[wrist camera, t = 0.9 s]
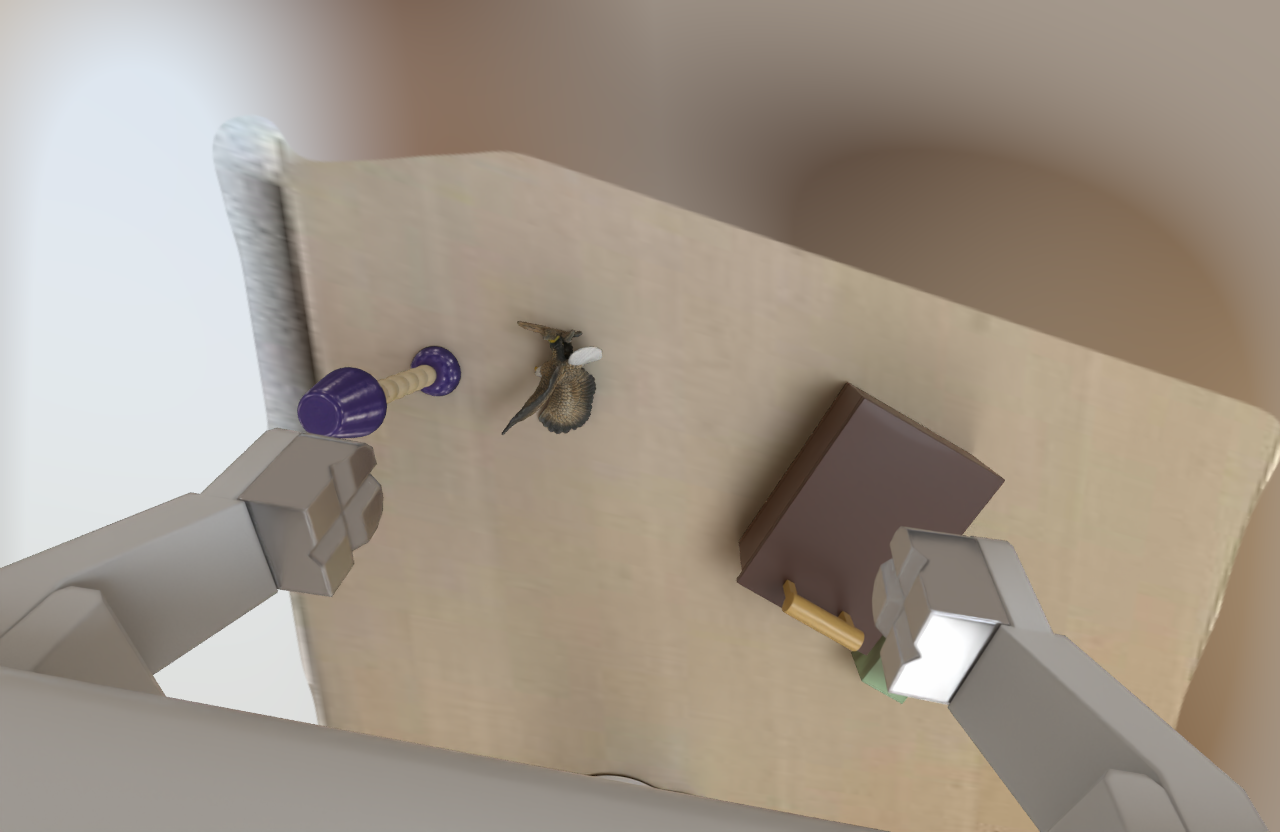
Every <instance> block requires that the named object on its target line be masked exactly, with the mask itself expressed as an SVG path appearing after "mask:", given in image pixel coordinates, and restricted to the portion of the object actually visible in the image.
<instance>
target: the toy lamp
mask: <svg viewBox="0 0 1280 832" xmlns="http://www.w3.org/2000/svg"><path fill="white" fill-rule="evenodd" d="M460 377H461V371H460V366H459V364H458V361H457V359H456V358H455V357H454V355H453V354H452V353H451V352H449V351H448V350H447V349H444V348H442V347H437V346H431V347H427V348H424V349H422V350H421V351H420V352H419V353H417V355H416V356H415V357H414V359H413V361H412V364H411V369H409V370H407V371H403V372H400V373H398V374H397V375H391V376H389V377H387V378H386V379H380V380H378V381H377V380H376V379H375V378H374V377H373V376H372V375H370V374H369V373H367V372H365V371H363V370H361V369H358V368H352V367H345V368H340V369H337V370H334V371H332V372H331V373H329V374H328V375H326V376H325V377H324V378H323V379H321V380H320V381H319V382H318V383H317V384H315V385H314V386H313V387H312V388H311V389H310V390H309V391H307V392H306V393H305V395H304V396H303V397H302V398H301V400H300V402H299V404H298V409H297V412H298V418H299V421H300V423H301V425H302V427H303V428H304V429H305V430H306V431H307V432H308V433H312V434H318V435H323V436H329V437H335V438H357V437H363V436H366V435H369V434H371V433H372V432H374V431H375V430H377V428H379V427H380V425H381V424H382V423H383V420H384V418H385V415H386V409H387V403H390V402H392V401H394V400H396V399H400V398H403V397H404V396H405V395H409V394H412V393H413V392H415V391H418V390H421V391H422V392H424V393H426V394H428V395H432V396H443V395H447V394H449V393H451V392H452V391H453V390H454V389H455V388H456V387H457V385H458V384H459V381H460Z"/></svg>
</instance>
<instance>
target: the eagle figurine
mask: <svg viewBox="0 0 1280 832" xmlns="http://www.w3.org/2000/svg"><path fill="white" fill-rule="evenodd" d="M517 323H518V325H519V326H521V327H523V328H524V329H527V330H531V331H533V332H538V333H541V334H542V335H543V336H544V337H543V339H545V340H548V341H549V342H550V348H551V349H552V357H551V360H550V361H547V362H546V363H544V364H543V365H541V366H540V367H535V375H537V376H539V377H542V378H541V381H540V383H539V386H538V387H537V389H536V391H535V392H534V394H533V395H532V396H531V397H530V398H529V399H528V400H527V402H526V403H525V405H524V406H523V407H522V409H521V410H520V411H519V412H518V413H517V414H516V415H515V416H514V417H513V418H512V419H511V420H510V422H509V424H508V425H507V427H506V428H505V429H504V430H503V432H502V435H504V434H505V433H506V432H507V431H508V429H510V428H511V427H512V426H513V425H514V424H516V423H517V422H520V421H523V420H525V419H526V418H527V417H529V416H531V415H533V414H534V413H535V412H536V411H537V410H538V409H539V408H541V406H543V405H544V403H545V402H546V401H547V399H548V398H549V396H550V395H551V394H552V396H551V399H550V401H549V404H548V406H547V407H546V408H545V409H544V411H543V412H542V414H541V415H540V417H539V421H541V422H543V426H544V427H548V429H549V431H550V432H553V431H554V432H555V433H556V434H559V433H561V432H564V433H568V432H569V431H570V429H571V428H572V429H573V430H576V428H577V427H582V425H583V424H585V422H586V421H587V420H588V419H589V416H590V415H591V413H590V412H591V409H592V405H591V404H592V403H593V398H594V397H593V395H594V394H595V390H596V387H595V386H596V384H595V382H594V381H595V378H594V377H593V376H592V375H589V374H588V372H585V370H584V368H582V366H583V365H585V364H588V363H590V362H594V361H598V360H600V359H601V358H602V350H601V349H599V348H598V347H594V346H590V347H585V348H581V349H579V350H577V351H575V352H573V350H572V349H573V346H572V343H571V342H570V341H571V340H572V338H573V337H579V336H580V335H582V332H581V331H577V332H575V331H574V330H571V331H570V332H565V331H562V330H558V329H553V328H550V327H546V326H542V325H537V324H532V323H527V322H522V321H518V322H517Z"/></svg>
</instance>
